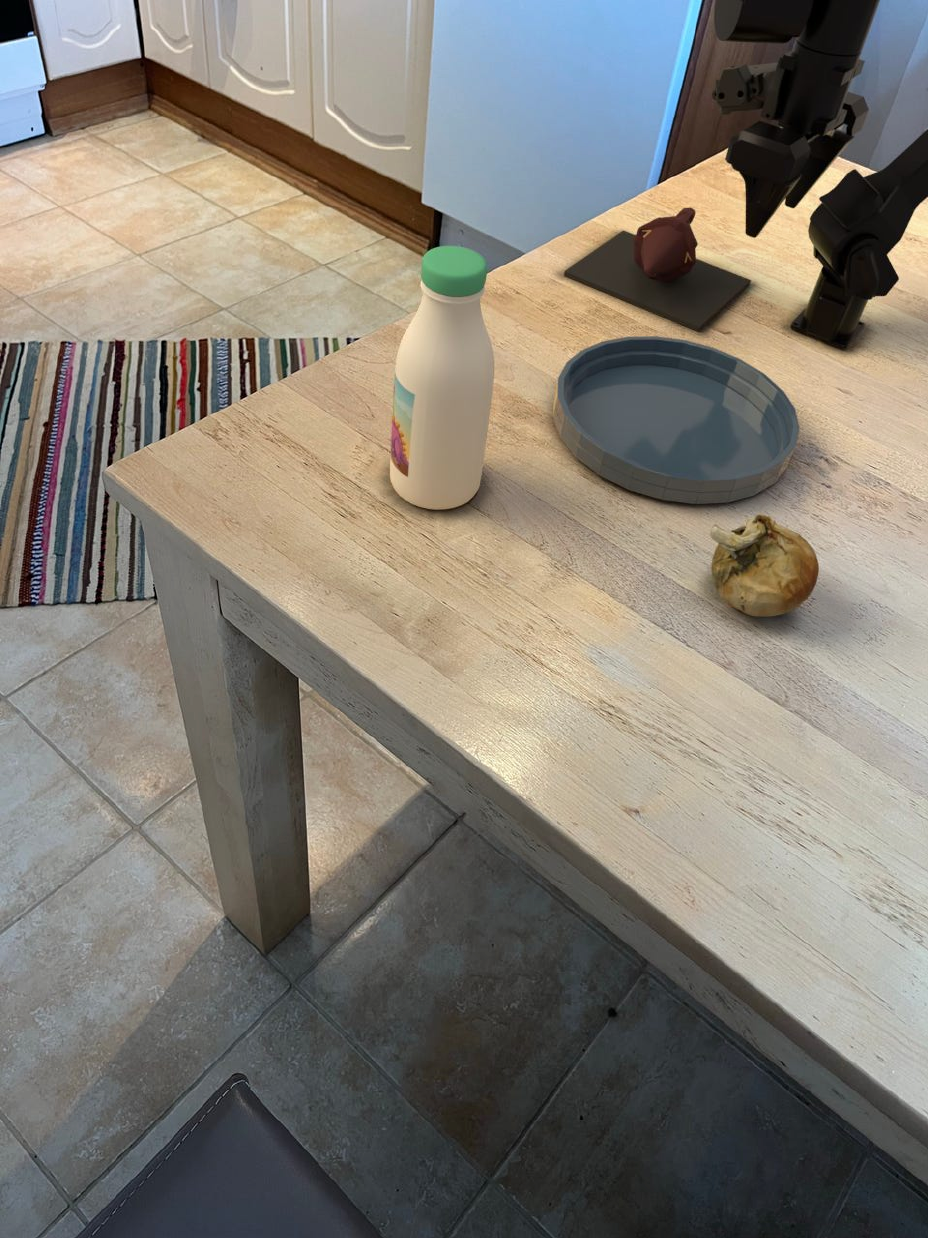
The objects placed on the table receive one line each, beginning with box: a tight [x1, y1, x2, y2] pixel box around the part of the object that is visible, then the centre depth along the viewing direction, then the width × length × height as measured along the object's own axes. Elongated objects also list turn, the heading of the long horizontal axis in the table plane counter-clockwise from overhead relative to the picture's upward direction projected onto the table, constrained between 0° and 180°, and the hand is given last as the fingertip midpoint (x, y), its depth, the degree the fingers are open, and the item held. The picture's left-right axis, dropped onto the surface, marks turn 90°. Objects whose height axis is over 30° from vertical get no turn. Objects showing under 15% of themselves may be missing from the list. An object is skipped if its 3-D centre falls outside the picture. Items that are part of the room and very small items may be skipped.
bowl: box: [552, 335, 801, 505], centre depth 88 cm, size 22×22×3 cm
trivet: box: [563, 230, 752, 332], centre depth 108 cm, size 14×17×1 cm
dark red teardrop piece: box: [633, 206, 699, 283], centre depth 105 cm, size 7×7×15 cm
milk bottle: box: [389, 245, 495, 511], centre depth 73 cm, size 8×8×20 cm
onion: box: [709, 513, 820, 617], centre depth 72 cm, size 8×8×8 cm
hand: (770, 220), depth 94 cm, fingers open, 9 cm apart
